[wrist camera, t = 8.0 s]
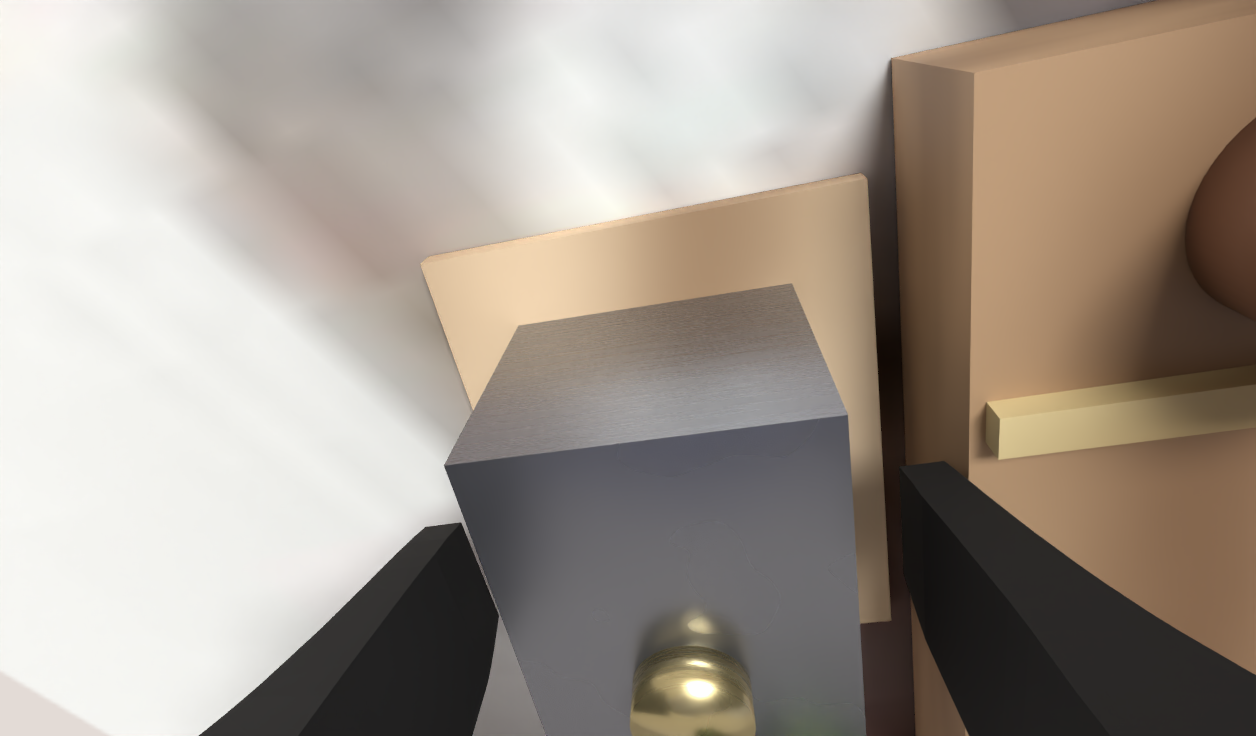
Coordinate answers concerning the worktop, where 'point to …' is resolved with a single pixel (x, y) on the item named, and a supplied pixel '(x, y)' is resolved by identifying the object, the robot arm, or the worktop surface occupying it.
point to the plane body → (1091, 300)
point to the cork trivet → (692, 268)
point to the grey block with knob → (671, 520)
